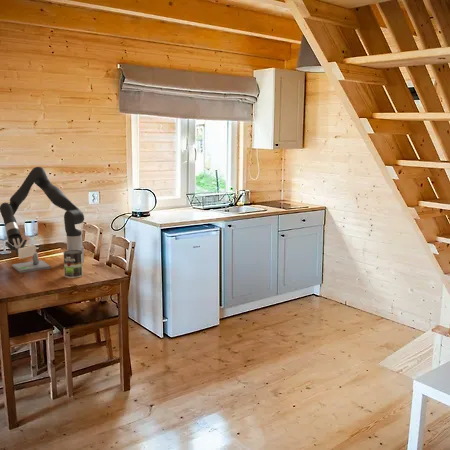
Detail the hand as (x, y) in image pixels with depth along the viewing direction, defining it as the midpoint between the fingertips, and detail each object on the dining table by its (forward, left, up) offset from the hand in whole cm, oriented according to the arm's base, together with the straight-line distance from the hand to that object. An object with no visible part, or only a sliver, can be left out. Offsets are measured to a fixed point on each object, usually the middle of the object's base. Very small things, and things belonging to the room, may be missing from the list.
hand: (19, 254), depth 307 cm
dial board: (-6, +1, -9) cm, 11 cm away
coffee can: (-21, +34, -9) cm, 41 cm away
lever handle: (-5, +2, -7) cm, 9 cm away
